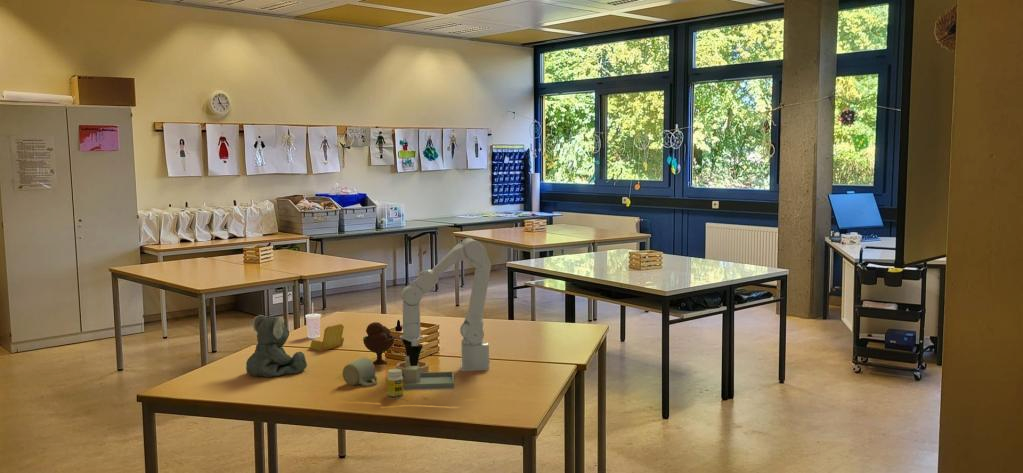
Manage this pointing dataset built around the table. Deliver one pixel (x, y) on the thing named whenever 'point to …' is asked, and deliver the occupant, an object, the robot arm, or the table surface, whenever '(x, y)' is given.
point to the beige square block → (412, 375)
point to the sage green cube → (408, 361)
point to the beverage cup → (313, 324)
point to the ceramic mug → (360, 372)
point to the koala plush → (273, 350)
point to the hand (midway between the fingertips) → (412, 362)
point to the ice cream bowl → (378, 341)
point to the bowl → (423, 365)
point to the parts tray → (432, 381)
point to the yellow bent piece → (329, 338)
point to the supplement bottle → (394, 384)
